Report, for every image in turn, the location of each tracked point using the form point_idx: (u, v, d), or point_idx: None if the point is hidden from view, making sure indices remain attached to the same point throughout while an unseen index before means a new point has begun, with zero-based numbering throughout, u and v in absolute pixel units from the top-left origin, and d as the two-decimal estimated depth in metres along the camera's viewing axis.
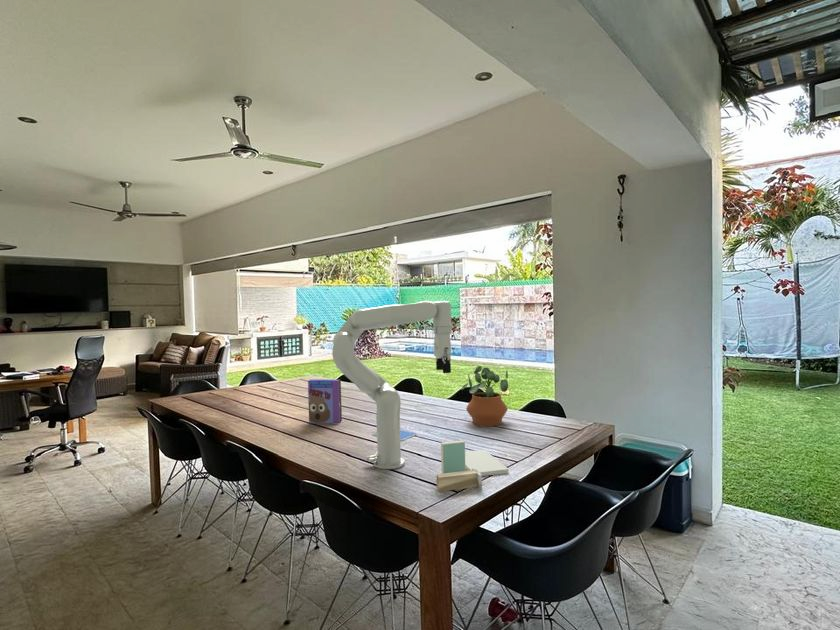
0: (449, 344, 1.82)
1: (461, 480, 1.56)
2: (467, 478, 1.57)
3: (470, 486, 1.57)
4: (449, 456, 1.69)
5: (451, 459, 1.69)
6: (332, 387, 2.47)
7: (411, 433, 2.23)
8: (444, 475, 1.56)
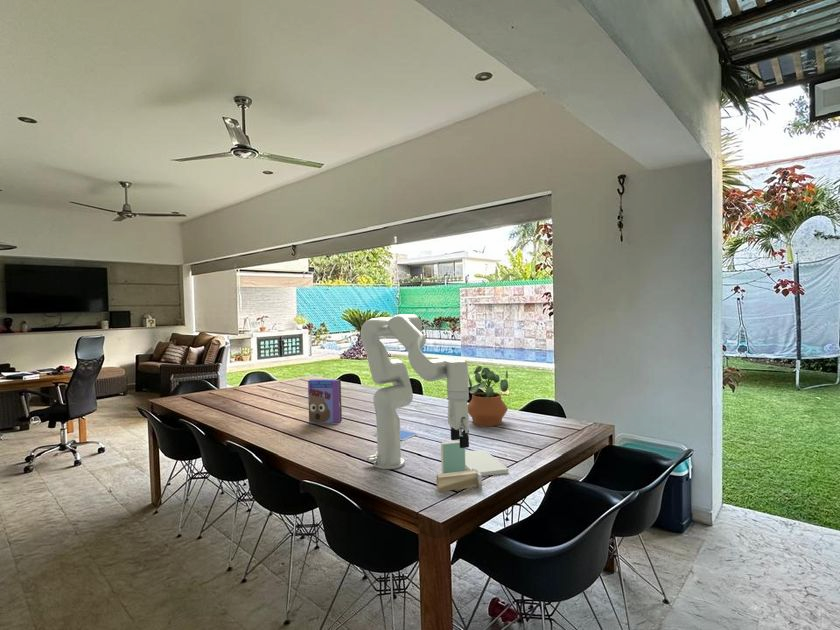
0: (467, 413, 1.53)
1: (461, 480, 1.56)
2: (467, 478, 1.57)
3: (470, 486, 1.57)
4: (449, 456, 1.69)
5: (451, 459, 1.69)
6: (332, 387, 2.47)
7: (411, 433, 2.23)
8: (444, 475, 1.56)
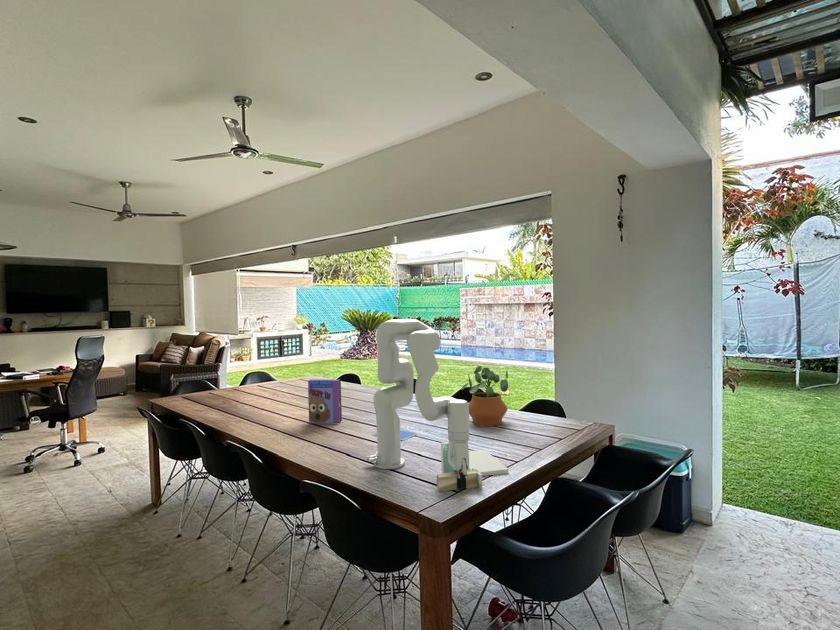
0: (467, 454, 1.53)
1: None
2: (467, 478, 1.57)
3: (470, 486, 1.57)
4: None
5: None
6: (332, 387, 2.47)
7: (411, 433, 2.23)
8: (444, 475, 1.56)
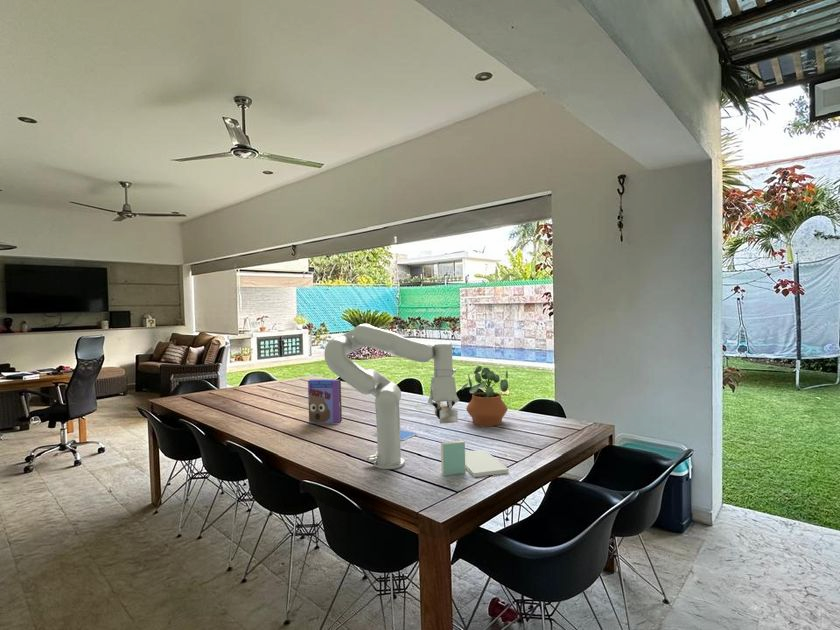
0: (433, 387, 1.78)
1: None
2: None
3: None
4: (449, 456, 1.69)
5: (451, 459, 1.69)
6: (332, 387, 2.47)
7: (411, 433, 2.23)
8: None
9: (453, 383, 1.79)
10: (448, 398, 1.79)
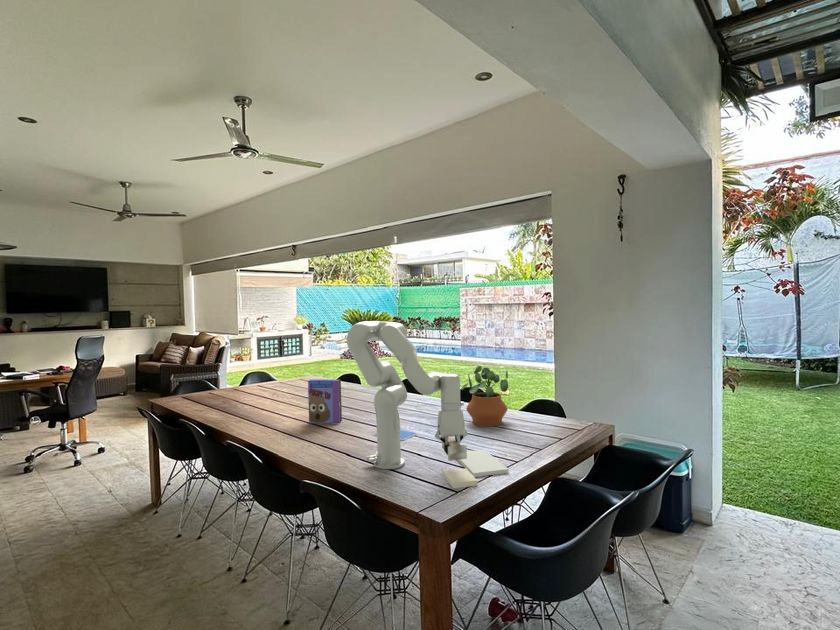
0: (440, 422, 1.70)
1: None
2: None
3: None
4: None
5: None
6: (332, 387, 2.47)
7: (411, 433, 2.23)
8: None
9: (462, 417, 1.71)
10: (456, 432, 1.71)
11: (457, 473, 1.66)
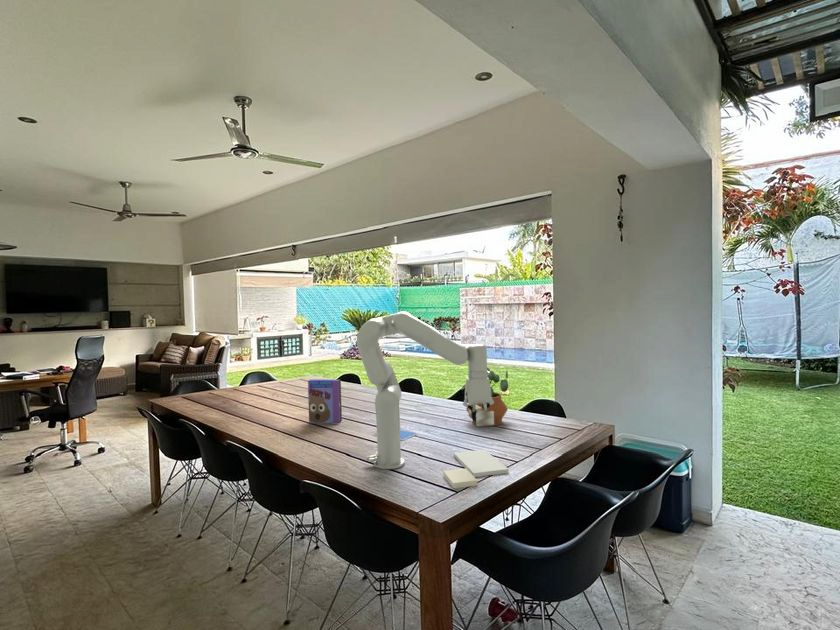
0: (468, 390, 1.77)
1: None
2: None
3: None
4: None
5: None
6: (332, 387, 2.47)
7: (411, 433, 2.23)
8: None
9: (488, 385, 1.78)
10: (483, 400, 1.78)
11: (457, 473, 1.66)
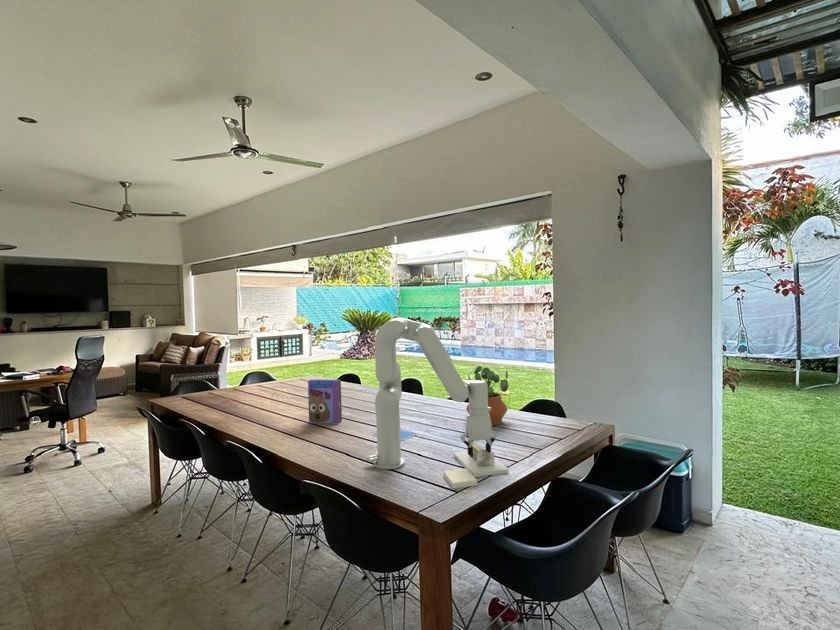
0: (468, 426, 1.77)
1: (475, 453, 1.79)
2: None
3: None
4: None
5: None
6: (332, 387, 2.47)
7: (411, 433, 2.23)
8: (473, 444, 1.85)
9: (489, 422, 1.78)
10: (484, 437, 1.78)
11: (457, 473, 1.66)
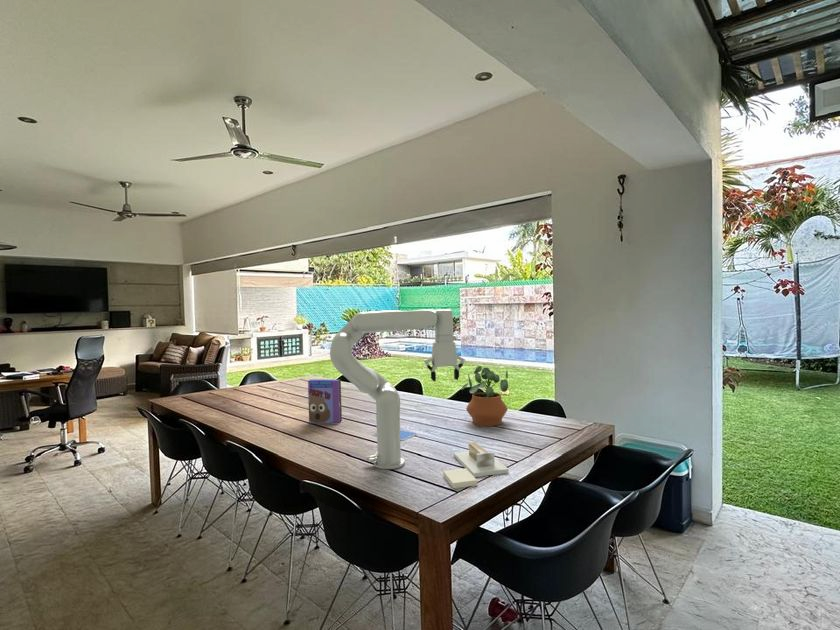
0: (434, 353, 1.82)
1: (475, 453, 1.79)
2: None
3: None
4: None
5: None
6: (332, 387, 2.47)
7: (411, 433, 2.23)
8: (473, 444, 1.85)
9: (454, 349, 1.84)
10: (449, 363, 1.83)
11: (457, 473, 1.66)
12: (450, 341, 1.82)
